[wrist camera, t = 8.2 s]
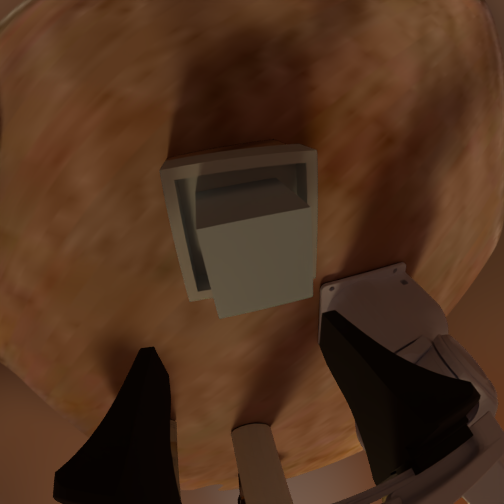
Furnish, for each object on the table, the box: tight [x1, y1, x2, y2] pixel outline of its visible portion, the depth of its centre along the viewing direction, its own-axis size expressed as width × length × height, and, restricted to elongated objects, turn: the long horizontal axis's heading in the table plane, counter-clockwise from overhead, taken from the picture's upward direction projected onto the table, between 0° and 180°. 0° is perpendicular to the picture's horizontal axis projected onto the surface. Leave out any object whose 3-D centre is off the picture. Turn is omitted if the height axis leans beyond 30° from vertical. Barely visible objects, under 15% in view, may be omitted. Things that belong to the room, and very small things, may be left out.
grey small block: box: [195, 178, 313, 319], centre depth 13 cm, size 4×4×5 cm
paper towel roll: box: [231, 424, 293, 504], centre depth 26 cm, size 7×6×21 cm
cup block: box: [159, 144, 318, 302], centre depth 15 cm, size 8×8×3 cm
